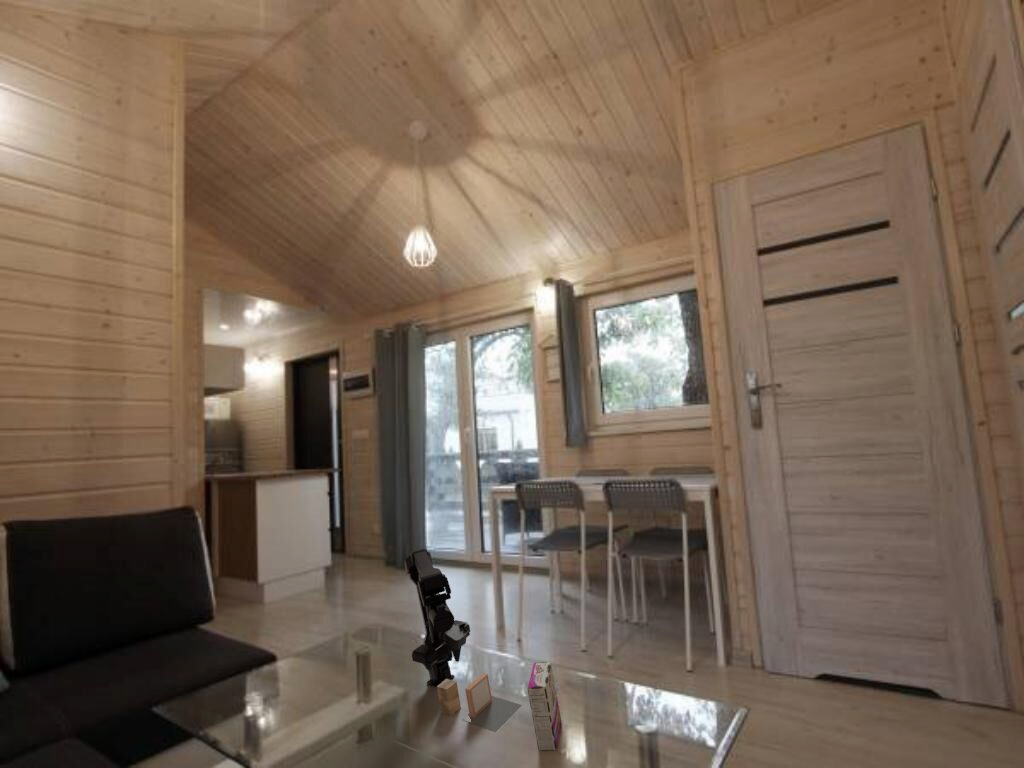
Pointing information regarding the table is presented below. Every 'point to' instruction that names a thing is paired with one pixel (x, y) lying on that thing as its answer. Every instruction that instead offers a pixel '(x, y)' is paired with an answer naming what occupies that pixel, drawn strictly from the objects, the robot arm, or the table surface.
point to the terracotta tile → (478, 695)
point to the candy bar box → (544, 706)
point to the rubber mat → (495, 714)
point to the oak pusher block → (448, 697)
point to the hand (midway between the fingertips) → (446, 670)
